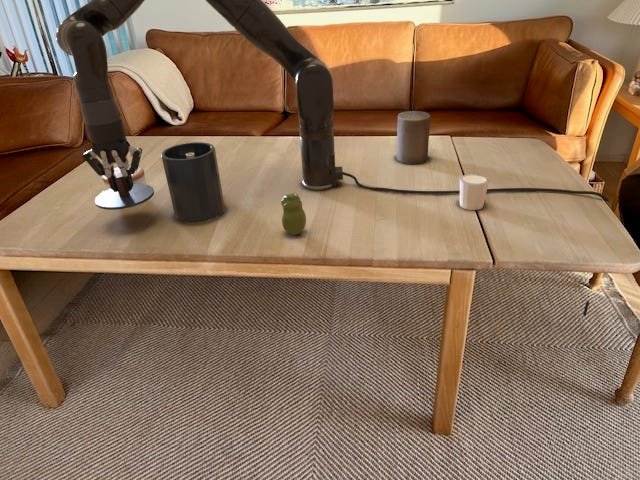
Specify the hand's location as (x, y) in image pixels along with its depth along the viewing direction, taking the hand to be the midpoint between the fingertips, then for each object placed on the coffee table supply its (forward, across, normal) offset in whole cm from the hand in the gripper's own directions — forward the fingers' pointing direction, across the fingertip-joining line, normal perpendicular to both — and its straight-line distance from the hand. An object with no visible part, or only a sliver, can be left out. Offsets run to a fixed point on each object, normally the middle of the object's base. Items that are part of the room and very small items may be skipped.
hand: (123, 189), depth 114 cm
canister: (+10, +16, +5) cm, 19 cm away
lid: (+2, 0, 0) cm, 2 cm away
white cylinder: (+10, +85, +2) cm, 85 cm away
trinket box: (+10, -6, +16) cm, 20 cm away
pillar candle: (+10, +76, +36) cm, 85 cm away
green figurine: (+10, +41, -8) cm, 43 cm away
